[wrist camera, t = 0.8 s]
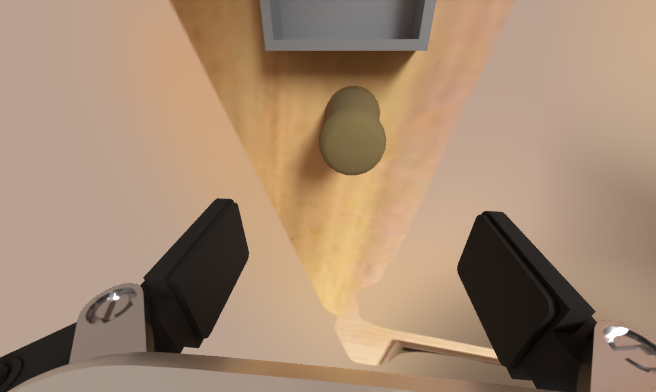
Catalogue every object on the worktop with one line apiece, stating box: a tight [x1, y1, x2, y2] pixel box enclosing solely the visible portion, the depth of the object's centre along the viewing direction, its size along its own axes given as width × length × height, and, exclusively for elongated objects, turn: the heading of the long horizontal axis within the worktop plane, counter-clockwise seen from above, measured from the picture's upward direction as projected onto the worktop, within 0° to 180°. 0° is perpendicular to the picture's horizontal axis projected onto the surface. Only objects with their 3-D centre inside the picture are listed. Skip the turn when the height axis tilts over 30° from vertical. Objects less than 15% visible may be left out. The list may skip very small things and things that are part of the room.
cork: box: [319, 86, 386, 175], centre depth 22 cm, size 6×6×11 cm
